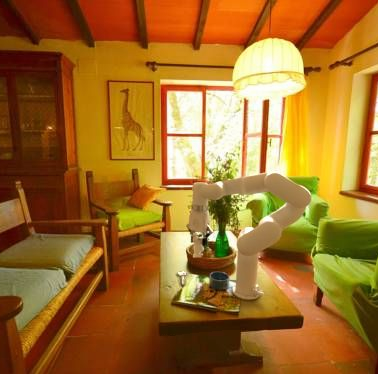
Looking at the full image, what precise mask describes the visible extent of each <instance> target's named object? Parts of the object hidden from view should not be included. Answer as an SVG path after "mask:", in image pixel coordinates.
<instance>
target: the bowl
mask: <svg viewBox="0 0 378 374" xmlns="http://www.w3.org/2000/svg"><path fill="white" fill-rule="evenodd" d="M208 277H209V278H208V284H209V286H210V285H211V286H210V287H211V288H212V289H214V290H216V291H225V290H227V289H228V288H229V287H230V277H231V276H230V275H229V274H228V273H226V272H224V271H212V272H210V273H209V275H208Z"/></svg>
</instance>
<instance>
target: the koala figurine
mask: <svg viewBox="0 0 378 374" xmlns="http://www.w3.org/2000/svg"><path fill="white" fill-rule="evenodd" d="M189 235H190V237H191V236H192V237H193V243H192V244H193V246H192V249H193V254H192V255H193V256H192V258H193V259H194V258H202V257H203V256H204V254H203V252H204V251H205V248H204V246H202V239H203V238H204V237H203V236H198V232H194V233H193V235H192V234H190V233H189Z"/></svg>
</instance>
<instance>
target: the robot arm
mask: <svg viewBox="0 0 378 374" xmlns="http://www.w3.org/2000/svg"><path fill="white" fill-rule="evenodd" d="M262 193H271V194H272V195H273V196H276V197H277V198H278V199H280V200H282V201H283V202H285V203H284V204H283V205H282V206H281V207H279V208H278V209H276V210H275V211H273V212H272V213H270V214H268V215H266V216H264V217H262V219H260V220H259V222H258V225H257V226H256V227H251V226H247V227H244V228H242V229H241V230H240V231H239V233H238V236H237V240H236V249H237V256H236V257H237V259H236V272H235V273H236V274H235V275H236V276H235V285H233V286H232V290H231V292H232V294H233V295H234V296H235V297H236V298H239V299H241V300H246V301H253V300H257V299H258V298H259V297H261V298H264V297H265V291H264V290H263V289H260V288H259V284H257V281H258V268H259V256H260V252H262V251H265V249H267V248H269V247H271V246H273V245H274V244H276V243H278V242H279V240H280V239H281V237H282V234H283V231H284V230H286V229H288V228H289V227H290V226H292V225H293V224H295V223H297V222H298V221H299V220H300V219H301V218H302V217H303V215H304V214H305V212H306V209H307V207H308V206H309V205H310V204H311V202H312V198H313V197H312V194H311V192H310V191H309V190H308V189H307V188H306V187H305V186H304V185H301V184H298V183H297V182H294V181H293V180H292V179H289V178H288V177H287V176H285V175H283V173H281V172H279V171H276V170H273V171H267V172H266V171H265V172H262V173H256V174H251V175H245V176H240V177H236V178H231V179H226V180H220V181H216V182H213V183H207V182H204V181H196V182H194V183H193V184H192V203H191V204H190V207H191V210H190V212H189V217H188V223H187V224H186V226H185V227H186V228H187V230H188V231H189V235H190V234H192V235H193V233H194V232H195V233H200V234H202V237H204V238H203V239H202V246H203V247H205V246H207V245H208V238H209V237H210V236H211V235H212V234H214V230H213V228H212V227H211V217H210V212H209V200H213V201H219V200H220V199H221V198H223V197H225V196H230V195H245V196H249V195H250V196H251V195H255V194H256V195H257V194H262ZM191 243H192V244H194V243H193V237H192V236H191V235H190V244H191Z"/></svg>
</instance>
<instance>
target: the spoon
mask: <svg viewBox="0 0 378 374" xmlns="http://www.w3.org/2000/svg"><path fill="white" fill-rule="evenodd" d="M177 276H179V277H181V278H180V279H181V286H185V285H186V283H185V277H186V276H187V272H186V271H183V270H180V271H178V272H177Z"/></svg>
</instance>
